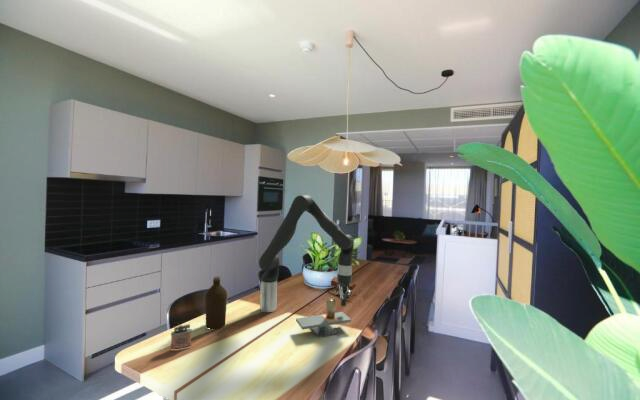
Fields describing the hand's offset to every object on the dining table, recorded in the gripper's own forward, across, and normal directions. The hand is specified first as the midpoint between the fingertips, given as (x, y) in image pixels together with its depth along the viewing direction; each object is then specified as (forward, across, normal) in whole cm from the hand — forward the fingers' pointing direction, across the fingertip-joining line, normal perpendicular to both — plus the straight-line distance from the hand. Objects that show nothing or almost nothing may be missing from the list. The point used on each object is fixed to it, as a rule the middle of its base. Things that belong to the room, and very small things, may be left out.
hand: (343, 305), depth 150 cm
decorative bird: (+11, -46, +23) cm, 53 cm away
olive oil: (+12, -22, -62) cm, 67 cm away
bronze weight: (+4, +2, -8) cm, 10 cm away
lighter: (+12, -4, -77) cm, 78 cm away
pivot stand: (+11, +2, -12) cm, 16 cm away
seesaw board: (+6, +2, -12) cm, 13 cm away
